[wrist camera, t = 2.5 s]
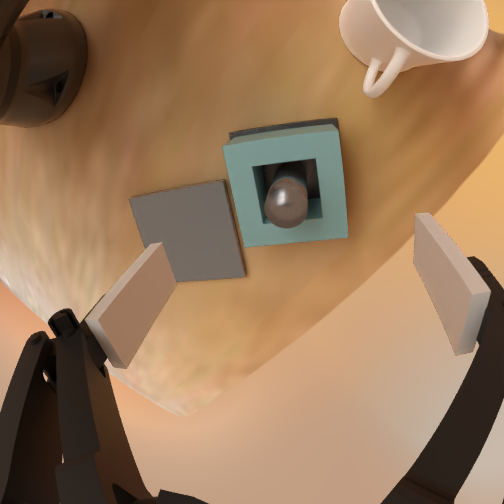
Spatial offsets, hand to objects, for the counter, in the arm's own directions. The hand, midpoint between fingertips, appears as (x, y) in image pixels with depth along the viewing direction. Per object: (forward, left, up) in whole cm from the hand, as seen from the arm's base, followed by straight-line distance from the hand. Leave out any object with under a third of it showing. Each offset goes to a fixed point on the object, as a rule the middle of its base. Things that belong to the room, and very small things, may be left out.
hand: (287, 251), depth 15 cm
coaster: (+5, -12, -16) cm, 21 cm away
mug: (-12, +10, -16) cm, 22 cm away
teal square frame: (0, 0, -15) cm, 15 cm away
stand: (0, 0, -16) cm, 16 cm away
